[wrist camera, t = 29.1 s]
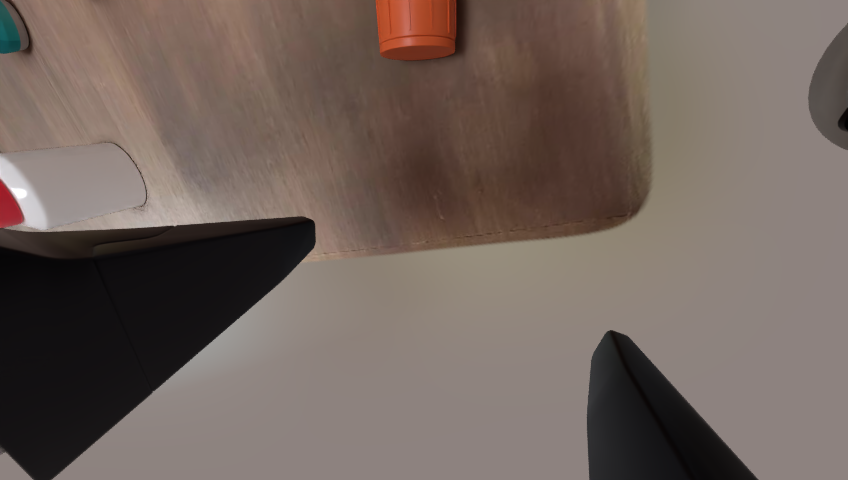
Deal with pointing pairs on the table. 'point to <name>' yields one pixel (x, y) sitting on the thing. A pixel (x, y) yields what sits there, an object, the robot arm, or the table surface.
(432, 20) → the cap
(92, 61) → the table surface
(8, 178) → the pill bottle
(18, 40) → the beverage can
